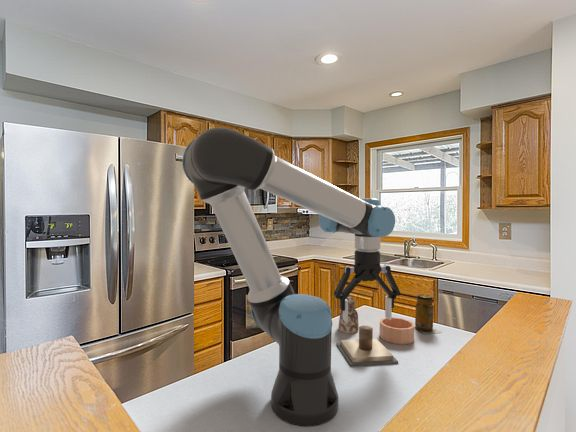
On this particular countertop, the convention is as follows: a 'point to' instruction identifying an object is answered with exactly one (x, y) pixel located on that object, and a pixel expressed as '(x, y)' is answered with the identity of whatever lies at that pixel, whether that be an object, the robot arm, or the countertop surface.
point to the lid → (366, 347)
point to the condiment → (424, 315)
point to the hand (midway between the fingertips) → (367, 319)
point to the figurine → (349, 318)
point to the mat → (366, 361)
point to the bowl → (397, 331)
